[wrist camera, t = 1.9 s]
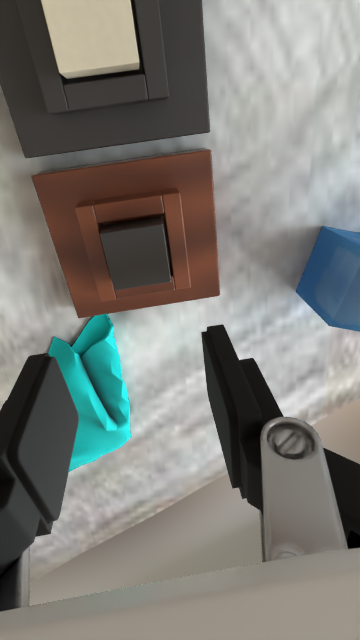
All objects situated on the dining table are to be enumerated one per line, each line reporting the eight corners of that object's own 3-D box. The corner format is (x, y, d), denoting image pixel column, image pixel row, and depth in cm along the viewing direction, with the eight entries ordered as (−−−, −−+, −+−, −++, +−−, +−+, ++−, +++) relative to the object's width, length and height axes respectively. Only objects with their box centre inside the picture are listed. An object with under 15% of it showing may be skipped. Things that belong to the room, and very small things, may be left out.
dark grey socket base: (-41, -80, 17) (-87, -135, 13) (187, -107, 17) (200, -166, 14) (34, 156, 22) (15, 160, 19) (204, 132, 23) (216, 132, 19)
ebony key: (102, 225, 22) (99, 233, 20) (161, 216, 22) (163, 223, 20) (115, 279, 24) (114, 291, 22) (169, 271, 24) (171, 282, 22)
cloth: (67, 496, 42) (63, 514, 40) (-42, 460, 36) (-52, 479, 35) (199, 368, 34) (203, 383, 32) (84, 297, 28) (80, 309, 26)
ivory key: (42, -24, 16) (29, -43, 14) (124, -34, 16) (122, -54, 14) (67, 79, 18) (59, 73, 16) (139, 69, 18) (139, 62, 16)
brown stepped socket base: (39, 171, 23) (22, 178, 19) (205, 147, 23) (217, 150, 20) (82, 306, 28) (74, 330, 25) (215, 285, 29) (225, 306, 25)
